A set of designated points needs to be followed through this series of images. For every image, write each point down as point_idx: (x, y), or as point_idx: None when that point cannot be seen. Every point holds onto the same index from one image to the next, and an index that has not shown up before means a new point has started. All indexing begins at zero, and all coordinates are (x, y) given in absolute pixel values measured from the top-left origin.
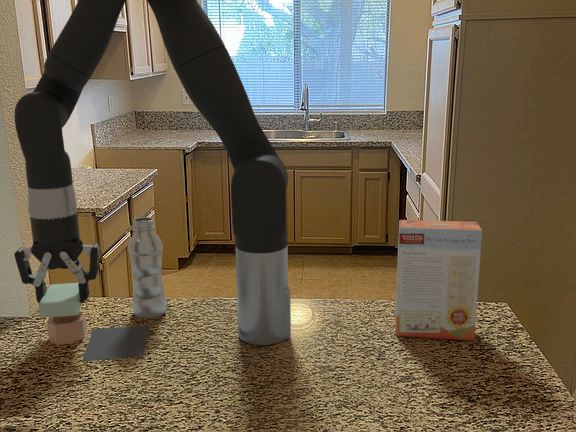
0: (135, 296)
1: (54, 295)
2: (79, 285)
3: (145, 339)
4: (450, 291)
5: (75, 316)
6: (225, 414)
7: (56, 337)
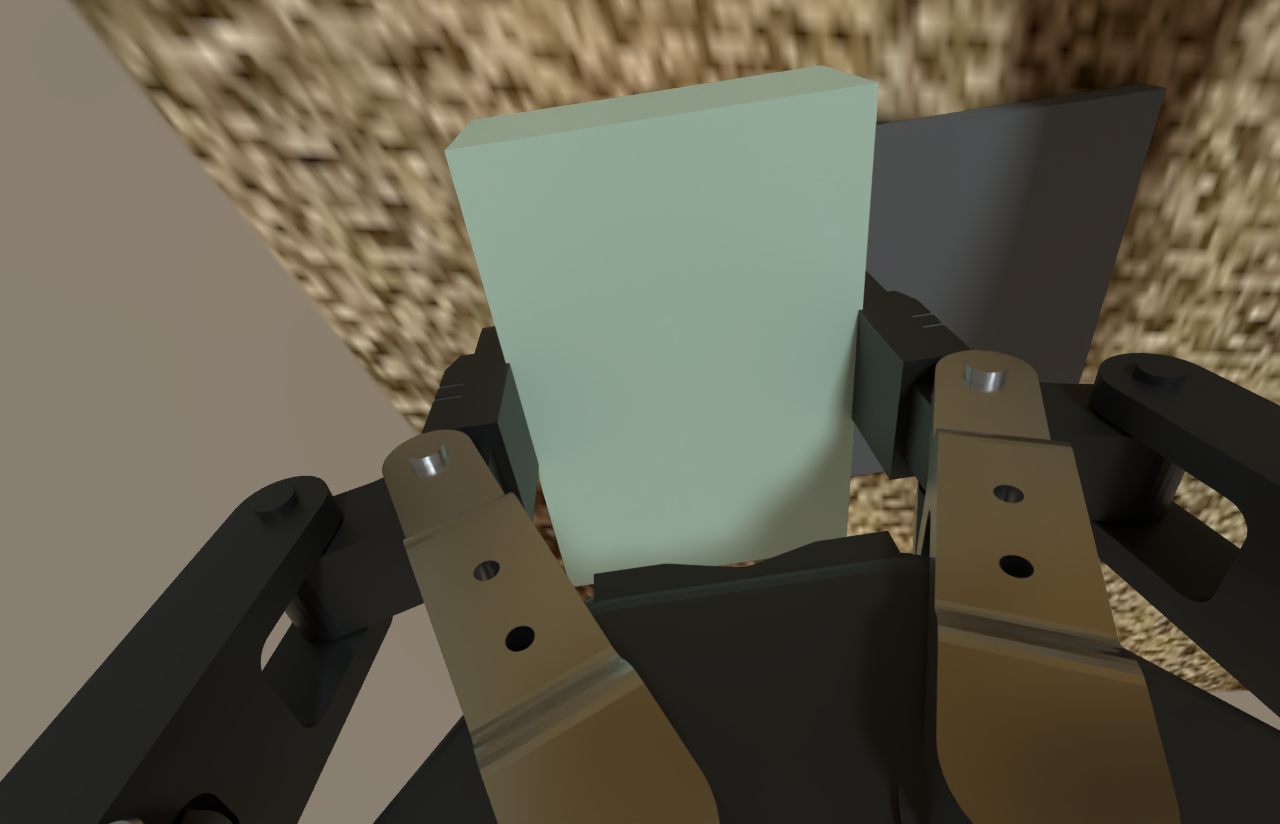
0: None
1: (630, 448)
2: (896, 467)
3: (1100, 298)
4: None
5: None
6: (1203, 659)
7: None
